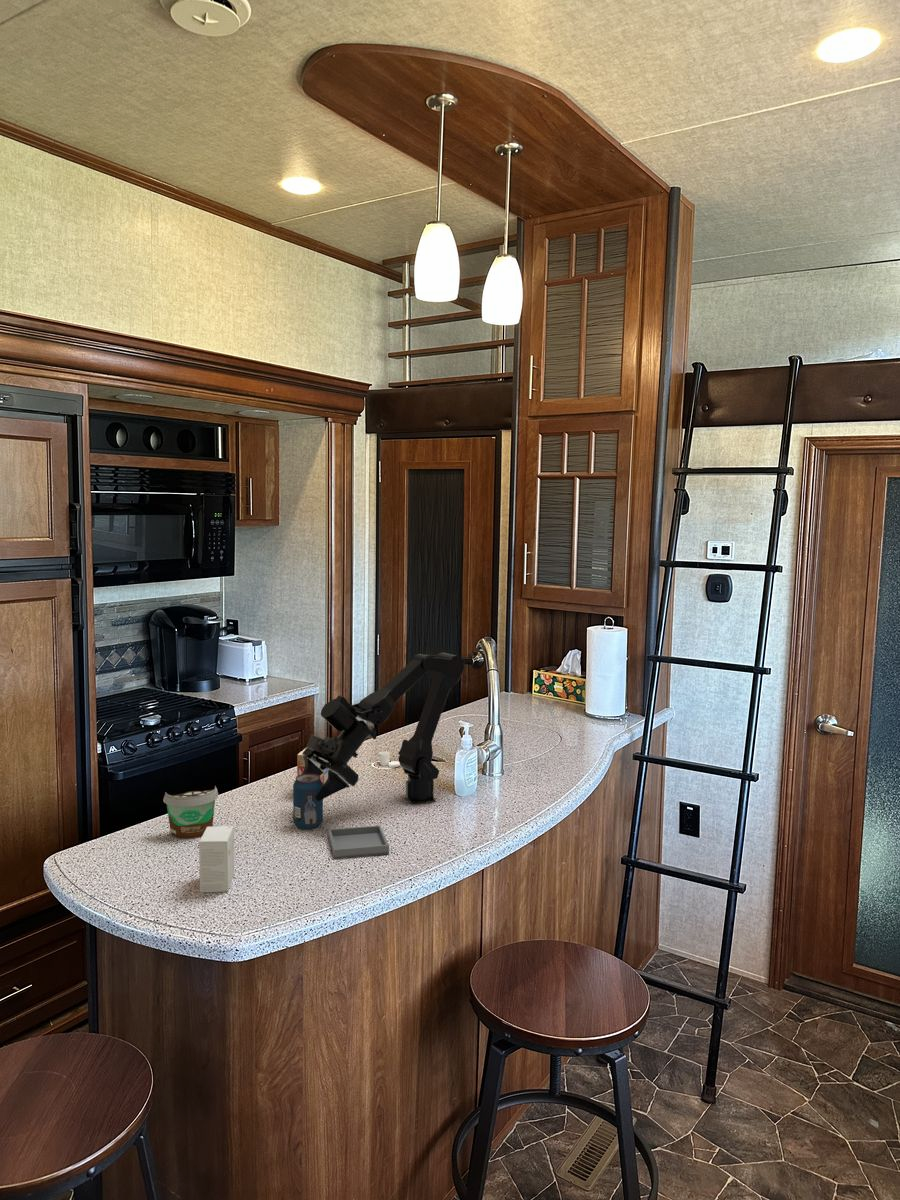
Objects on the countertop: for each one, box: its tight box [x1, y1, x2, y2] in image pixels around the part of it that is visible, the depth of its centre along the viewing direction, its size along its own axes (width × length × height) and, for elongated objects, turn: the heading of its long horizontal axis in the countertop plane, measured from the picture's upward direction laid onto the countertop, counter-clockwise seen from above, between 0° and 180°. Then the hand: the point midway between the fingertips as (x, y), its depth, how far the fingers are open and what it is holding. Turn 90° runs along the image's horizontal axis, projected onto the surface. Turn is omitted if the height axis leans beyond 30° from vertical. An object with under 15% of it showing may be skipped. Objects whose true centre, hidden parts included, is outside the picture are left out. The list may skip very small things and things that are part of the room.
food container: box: [163, 785, 219, 840], centre depth 191 cm, size 12×6×10 cm, turn 117°
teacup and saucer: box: [370, 751, 401, 770], centre depth 246 cm, size 9×8×4 cm
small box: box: [198, 825, 236, 893], centre depth 166 cm, size 8×6×10 cm
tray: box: [327, 824, 390, 860], centre depth 187 cm, size 12×12×2 cm
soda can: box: [292, 774, 324, 832], centre depth 197 cm, size 7×7×12 cm
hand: (307, 794), depth 197 cm, fingers open, 9 cm apart
